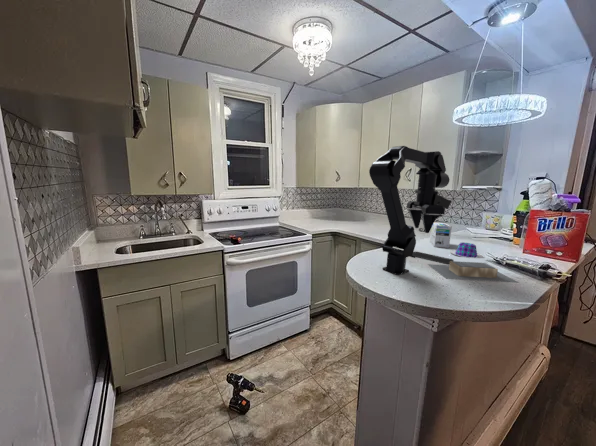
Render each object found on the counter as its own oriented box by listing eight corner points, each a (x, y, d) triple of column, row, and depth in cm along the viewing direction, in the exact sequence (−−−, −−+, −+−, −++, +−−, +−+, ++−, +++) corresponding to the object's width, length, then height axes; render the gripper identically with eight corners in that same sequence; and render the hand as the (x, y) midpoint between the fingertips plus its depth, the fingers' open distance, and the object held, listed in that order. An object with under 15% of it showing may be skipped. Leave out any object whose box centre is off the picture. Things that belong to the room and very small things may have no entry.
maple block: (459, 266, 82) (498, 268, 81) (449, 260, 88) (485, 262, 87) (458, 275, 82) (496, 277, 81) (448, 269, 88) (484, 271, 87)
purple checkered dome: (483, 255, 109) (485, 243, 109) (481, 261, 100) (483, 249, 99) (452, 250, 117) (453, 239, 116) (447, 255, 108) (449, 243, 107)
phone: (415, 251, 109) (454, 259, 99) (415, 253, 109) (453, 262, 99) (407, 254, 104) (448, 263, 93) (407, 257, 104) (447, 266, 93)
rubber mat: (446, 279, 80) (446, 278, 80) (427, 265, 93) (427, 264, 93) (519, 283, 78) (519, 282, 78) (488, 268, 92) (489, 267, 92)
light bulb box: (449, 248, 119) (452, 226, 117) (433, 247, 121) (436, 225, 119) (443, 243, 129) (445, 222, 127) (428, 242, 131) (431, 221, 129)
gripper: (464, 189, 80) (458, 236, 82) (437, 187, 98) (432, 226, 101) (428, 188, 81) (423, 235, 83) (408, 186, 99) (404, 225, 102)
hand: (421, 230), depth 92 cm, fingers open, 9 cm apart
